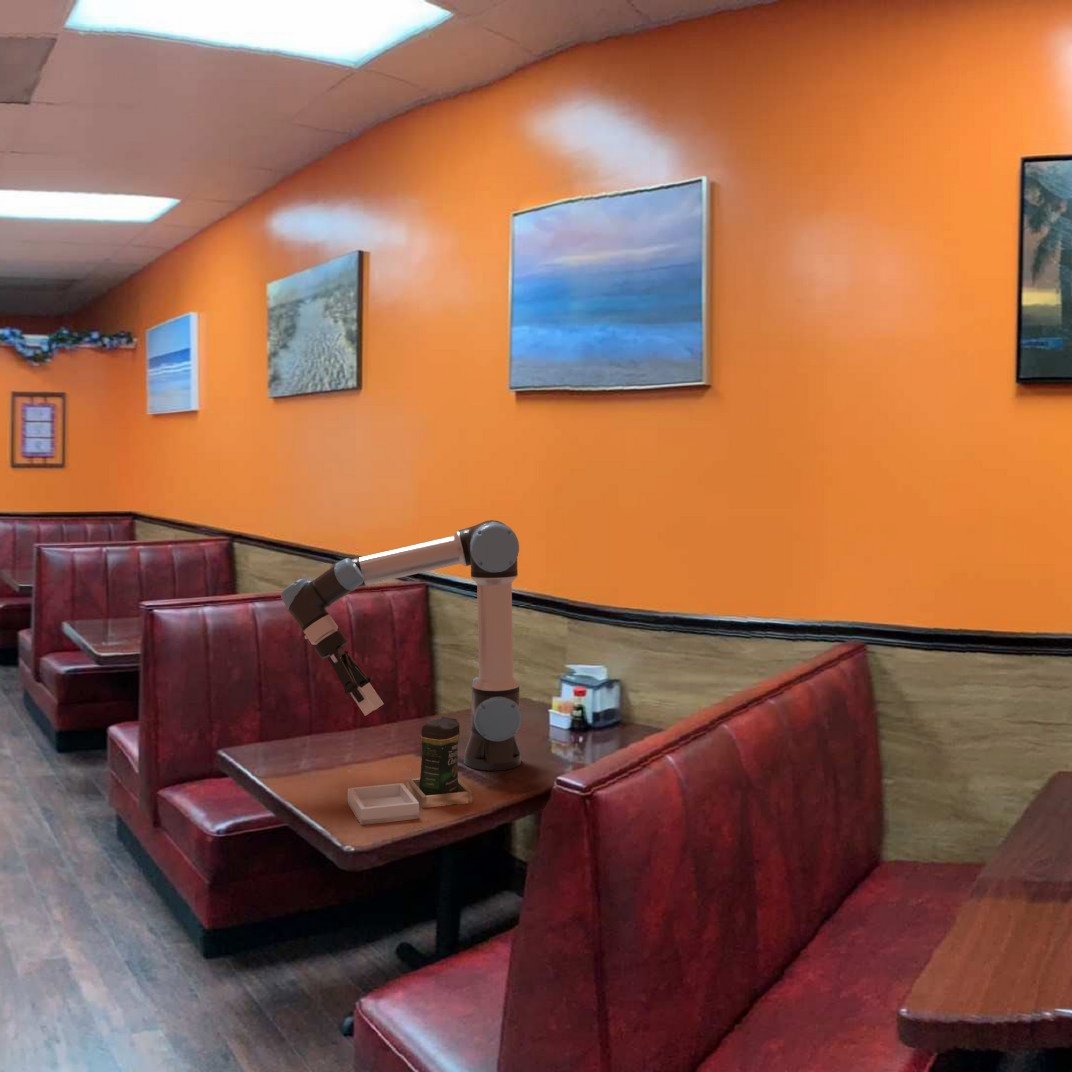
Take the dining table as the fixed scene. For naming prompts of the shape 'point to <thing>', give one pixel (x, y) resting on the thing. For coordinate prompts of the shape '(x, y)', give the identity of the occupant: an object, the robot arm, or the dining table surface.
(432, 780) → the coffee jar
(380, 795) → the parts tray
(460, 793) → the holder collar
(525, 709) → the dining table surface
